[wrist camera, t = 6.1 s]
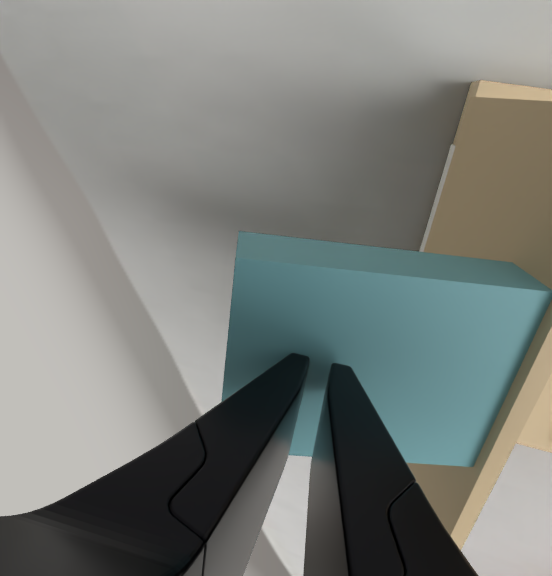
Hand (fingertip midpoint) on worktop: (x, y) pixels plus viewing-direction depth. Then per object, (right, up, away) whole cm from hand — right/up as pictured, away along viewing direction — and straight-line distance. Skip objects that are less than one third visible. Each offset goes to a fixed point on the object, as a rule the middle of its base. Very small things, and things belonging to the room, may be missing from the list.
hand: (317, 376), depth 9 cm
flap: (+5, +1, +3) cm, 6 cm away
